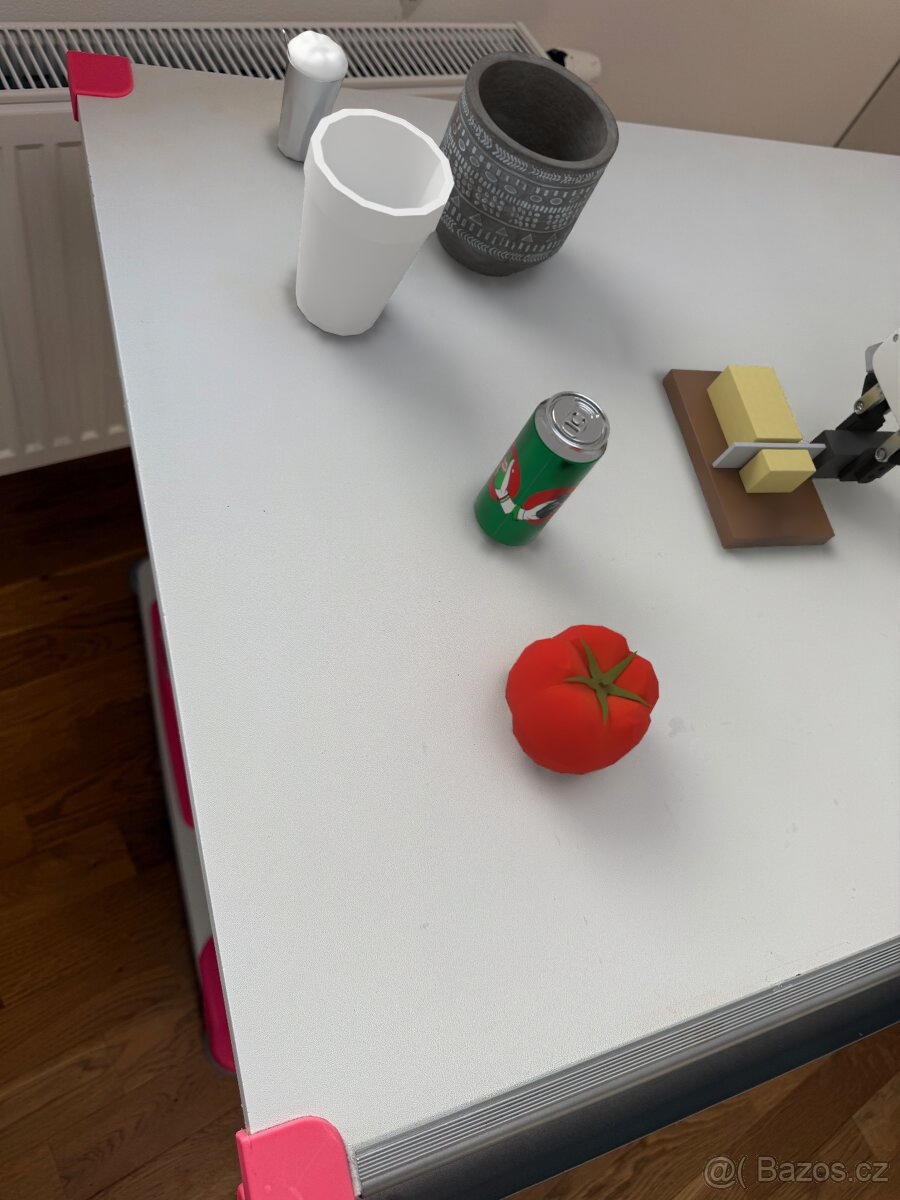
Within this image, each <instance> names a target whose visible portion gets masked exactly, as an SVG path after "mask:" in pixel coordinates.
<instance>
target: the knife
mask: <svg viewBox="0 0 900 1200" xmlns="http://www.w3.org/2000/svg"><path fill="white" fill-rule="evenodd" d="M895 432H896V431H894V430H893V431H889V430H877V431H849V430H835V429H823V430H822V431H821V432H820V433H819V434H818V435H817V436H816V437H814V439H812V440H811V441H810V442H808V443H803V442H802V443H800V442H799V443H748V442H734V443H733V444H732V445H731V446H730V447H729V448H728V449H727V450H726V451H725V452H724V453H723V454H722V455H721V456H720V457H719V458H718V459H717V460H716V461H715V462H714V463H713V464H712V465H713V467H714V468H743V467H744V466H745V465H746V464H747V463H748V462H750V461H751V460H752V459H753V458H754V457H755V456H756V455H757V454H758V453H759V452H760V451H761V450H763V449H775V450H808V452H809V455H810V457H811V459H812V462H813V464H814V466H815V469H816V472H814V473H813V474H812V475H811V476H810V477H809V478H807V479H812V480H813V479H816V480H817V479H820V480H824V479H826V480H827V479H828V480H829V479H830V480H833V479H836V480H837V479H838V480H839V478H838V476H837V475H838V473H839V472H840V471H841V470H843V469H844V468H845V467H846V466H847V465H849V464H850V463H851V462H852V461H853V460H855V459H856V458H857V457H858V456H859V455H860V454H861V453H862V452H863V451H865V450H866V449H868V448H878V447H879V446H881V445H882V444H883V443H884V442H885V441H886V440H887V439H888V438H890V437H891V436H892V435H893V434H894V433H895ZM895 467H897V465H895V464H894V465H893V466H892V467H890V468H889V469H888V470H886V471H885V472H884V473H883V474H881V475H880V476H879V477H877V478H876V479H878V480H879V479H881V478H883V476H885V475H886V474H887V473H888V472H890V471H891V470H893V469H894V468H895ZM876 479H875V480H876Z"/></svg>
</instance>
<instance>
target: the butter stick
mask: <svg viewBox="0 0 900 1200" xmlns="http://www.w3.org/2000/svg"><path fill="white" fill-rule="evenodd" d="M722 371H723V372H722V373H721V374H720V375H719V376H718V377H717V378H716V379H715V381H714V382H713V383H712V384H711V385H710V386H709V387H708V388H707V392H708V395H709V397H710V400H711V402H712V405H713V408H714V410H715V413H716V415H717V418H718V421H719V423H720V426H721V428H722V431H723V434H724V436H725V439H726V441H727V444H728V446H729V447H730V446H731V445H732V444H733V443H734V442H748V443H800V442H802V440H803V439H804V438H803V435H802V433H801V431H800V428H799V425H798V423H797V420H796V418H795V416H794V414H793V412H792V410H791V407H790V405H789V402H788V399H787V397H786V395H785V393H784V391H783V388H782V386H781V384H780V381H779V379H778V376H777V373H776V372H775V369H774V367H773V366H758V365H757V366H756V365H738V364H737V365H734V364H728V365H727V366H726V367H725V368H724V369H723V370H722Z"/></svg>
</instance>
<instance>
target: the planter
mask: <svg viewBox="0 0 900 1200" xmlns="http://www.w3.org/2000/svg"><path fill="white" fill-rule="evenodd" d="M619 141H620V131H619V126H618V123H617V120H616V118H615V116H614V113H613V112H612V110H611V109H610V107H609V105H608V104H607V103H606V102H605V100H604V99H603V98H602V97H601V96H600V94H598V92H596V90H595V89H594V88H593V87H592V86H591V85H589V84H588V83H587V82H586V81H585V80H583V79H582V78H581V77H579V76H578V75H577V74H575V72H572V71H571V70H570V69H568V68H566V67H565V66H564V65H561V64H560V63H559V62H556V61H554V60H551V59H549V58H546V57H543V56H539V55H537V54H533V53H529V52H524V51H516V50H499V51H493V52H490V53H487V54H485V55H483V56H482V57H480V58H479V59H477V60H476V61H475V62H474V63H473V64H472V65H471V67H470V68H469V71H468V73H467V75H466V77H465V80H464V83H463V86H462V88H461V91H460V93H459V95H458V97H457V100H456V103H455V105H454V108H453V110H452V112H451V115H450V118H449V120H448V123H447V126H446V128H445V131H444V134H443V137H442V140H441V142H440V144H439V146H438V147H439V149H440V150H441V151H442V152H443V154H444V155H445V156H446V157H447V159H448V160H449V164H450V168H451V172H452V176H453V180H454V185H453V188H452V190H451V193H450V195H449V198H448V200H447V203H446V205H445V207H444V210H443V212H442V215H441V217H440V219H439V222H438V224H437V227H436V229H435V232H436V236H437V239H438V240H439V242H440V244H441V246H442V248H443V249H444V250H445V251H446V253H447V254H448V255H449V256H450V257H451V258H452V259H453V260H455V261H456V262H457V263H458V264H459V265H461V266H462V267H464V268H466V269H467V270H470V271H472V272H474V273H477V274H479V275H481V276H482V275H483V276H487V277H493V278H497V277H498V278H503V277H509V276H512V275H515V274H519V273H521V272H524V271H527V270H528V269H531V268H533V267H536V266H538V265H540V264H542V263H543V262H545V261H547V260H549V259H551V258H552V257H554V256H556V254H557V253H558V252H559V251H560V250H561V248H562V247H563V245H564V244H565V242H566V240H567V239H568V237H569V236H570V234H571V232H572V230H573V229H574V227H575V225H576V223H577V221H578V219H579V217H580V215H581V213H582V212H583V210H584V209H585V207H586V204H588V201H589V200H590V198H591V196H592V195H593V193H594V192H595V190H596V187H597V186H598V185H599V182H600V180H601V179H602V176H603V175H604V173H605V171H606V169H607V167H608V165H609V164H610V163H611V160H612V159H613V157H614V155H615V154H616V151H617V149H618V146H619Z"/></svg>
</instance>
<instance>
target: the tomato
mask: <svg viewBox="0 0 900 1200" xmlns="http://www.w3.org/2000/svg"><path fill="white" fill-rule="evenodd" d="M637 653H638V650H636V651H632V650H630V647H629V644H628V640H627V638H626V637H625V636H624V635H623V634H621V633H619V632H618V631H615V630H613V629H611V628H608V627H606V626H604V625H597V624H583V623H581V624H576V625H570V626H569V627H567V628H566V629H564V630H562V631H561V632H560V633H557V634H556V635H555V636H552V637H546V638H542V639H536V640H534V641H533V642H532V643H530V644H529V645H527V646H526V647H525V648H523V650H522V652H521V653H520V654H519V656H518V658H517V659H516V661H515V662H514V664H513V665H512V667H511V668H510V670H509V672H508V675H507V680H506V685H505V689H504V698H505V700H506V703H507V705H508V708H509V711H510V714H511V721H512V734H513V736H514V738H515V740H516V741H517V743H518V745H519V747H520V748H521V750H522V752H523V753H524V754H525V755H526V756H527V757H529V758H530V759H531V760H532V761H533V762H534V763H535V764H536V765H537V766H539V767H542V768H544V769H546V770H549V771H552V772H554V773H556V774H557V773H558V774H562V775H563V774H564V775H578V776H585V775H586V774H591V773H593V772H594V773H595V772H597V771H600V770H603V769H605V768H608V767H610V766H613V765H615V764H616V763H617V762H618V761H620V760H621V759H623V758H624V757H625V756H626V755H627V754H629V753H630V752H631V751H632V750H633V749H635V748H636V747H637V746H638V745H639V744H640V743H641V741H642V740H643V738H644V736H645V735H646V734H647V732H648V730H649V728H650V726H651V722H652V718H651V714H652V713H653V711H654V708H655V706H656V705H657V703H658V701H659V699H660V684H659V683H660V682H659V679H658V677H657V674H656V672H655V669H654V666H653V664H652V662H651V661H650V660H648V659H647V658H644V657H643V656H641V655H639V654H637Z"/></svg>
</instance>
